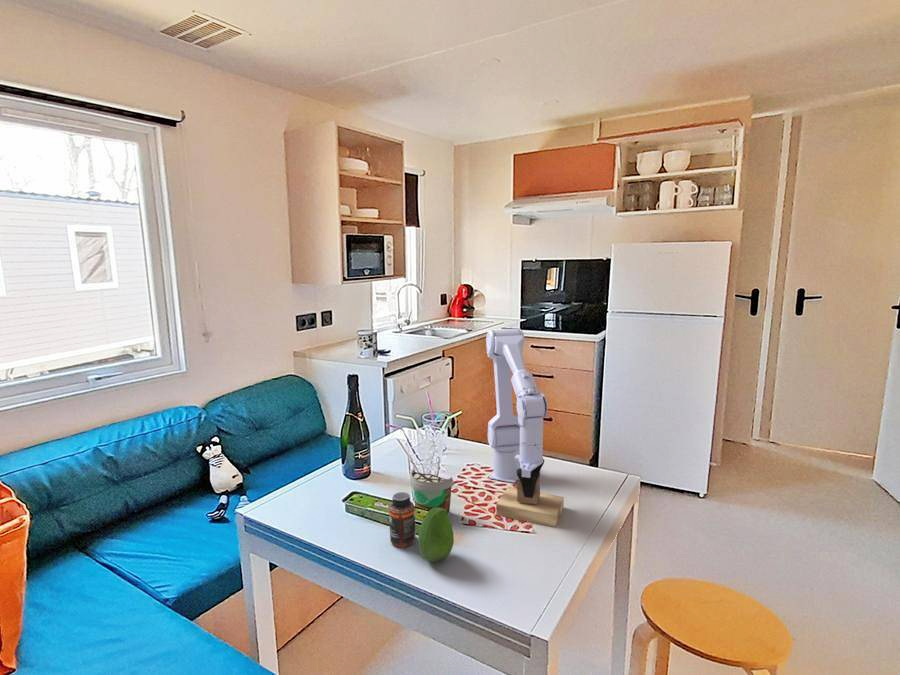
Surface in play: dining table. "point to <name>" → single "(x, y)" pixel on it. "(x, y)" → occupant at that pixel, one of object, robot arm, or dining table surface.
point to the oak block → (531, 508)
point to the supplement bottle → (402, 520)
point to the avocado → (436, 535)
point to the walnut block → (525, 499)
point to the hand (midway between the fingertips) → (530, 491)
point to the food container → (431, 491)
